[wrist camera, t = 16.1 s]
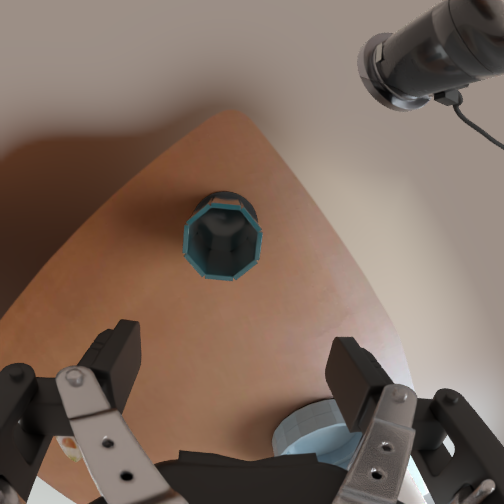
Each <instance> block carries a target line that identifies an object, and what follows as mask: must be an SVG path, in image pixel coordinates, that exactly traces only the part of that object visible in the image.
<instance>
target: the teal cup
mask: <svg viewBox="0 0 504 504" xmlns="http://www.w3.org/2000/svg"><path fill="white" fill-rule="evenodd" d="M261 230H262V229H261V227H260V226H259V224H258V223H257V221H256V219H255V218H254V216H253V215H252V213H251V212H250V211H249V210H248V208H247V207H246V206H245V205H244V203H243V202H242V201H241V200H240V199H238V198H237V197H230V196H220V195H216V196H215V197H214V196H213V197H211V198H210V199H209V200H208V201H206V202H205V203H204V204H203V205H202V206H200V207H199V208H198V209H197V210H196V211H195V212H194V213H193V215H192V216H191V217H190V218H189V219H188V220H187V222H186V224H185V225H184V238H183V253H185V255H184V257H185V258H186V260H187V261H188V262H189V263H190V264H191V265H192V266H193V268H194V269H195V270H196V271H197V272H198V273H199V274H200V275H201V277H203V276H204V275H205V279H215V280H226V281H233V278H234V279H235V280H237V279H238V278H239V277H241V276H242V275H243V274H244V273H246V272H247V271H248V270H250V269H251V268H252V267H253V266H255V265H256V264H257V260H259V259H260V251H261V243H262V235H263V232H262V231H261Z"/></svg>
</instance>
